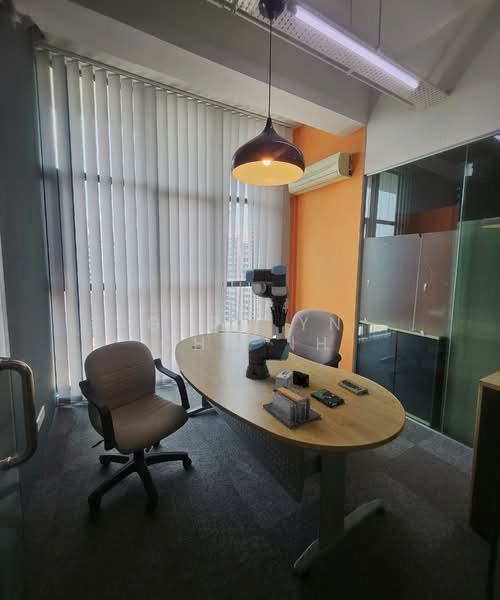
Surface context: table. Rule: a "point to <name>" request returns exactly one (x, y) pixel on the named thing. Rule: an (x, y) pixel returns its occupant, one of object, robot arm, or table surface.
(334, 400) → the disk drive
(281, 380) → the light bulb box
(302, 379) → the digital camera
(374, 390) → the table surface
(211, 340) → the table surface
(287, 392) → the latch bar
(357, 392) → the computer
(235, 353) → the table surface
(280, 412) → the heatsink base
